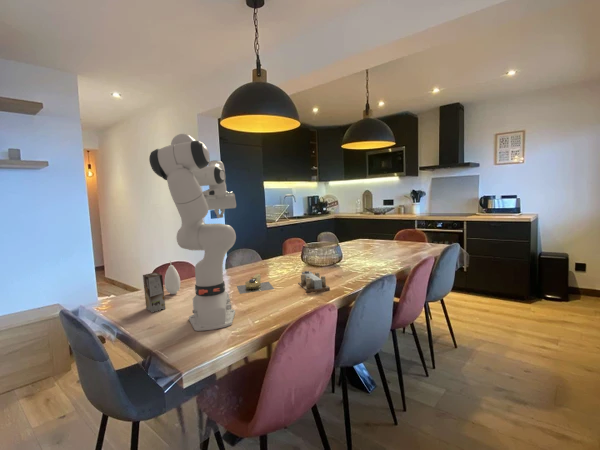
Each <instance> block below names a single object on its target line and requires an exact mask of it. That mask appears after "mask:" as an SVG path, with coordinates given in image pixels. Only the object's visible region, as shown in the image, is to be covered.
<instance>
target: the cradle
mask: <svg viewBox="0 0 600 450" xmlns="http://www.w3.org/2000/svg"><path fill="white" fill-rule="evenodd" d="M314 275H315V276H317V277H318V278H320V279H322V288H321V289H313V288H312V287H311V278H305V274H302V273H301V274H300V282H297V284H298V285H299V286H300V287H301V288H302V289H304V290H305V293H306V294H313V293H320V292H327V291H330V290H331V289H330V286H329V285H327V283H326V282H327V281H326V280H327V279H326V275H321V276H320V272H314Z"/></svg>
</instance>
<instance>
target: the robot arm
mask: <svg viewBox="0 0 600 450" xmlns="http://www.w3.org/2000/svg"><path fill="white" fill-rule="evenodd" d="M210 158H211V157H210V152H209V149H208V147H207V145H206V144H205V143H204V142H202V141H200V140H196V139H195V138H194V137H192V136H191V135H189V134H187V133H179V134H176V135H175V136H174V137H173V138H172V139H171V143H170V145H167V146H164V147H161V148H160V147H158V148H156V149H154V150H152V151H151V152H150V154H149V159H148V161H149V164H150V165H149V166H150V167H151V170H152V171H153V172H154V173H155V174H156V175H157V176H158V177H160V178H162V179H163V180H164V181H166V182H167V187H168V190H169V193H170V196H171V198H172V202H173V203H174V205H175V207H176V210H177V211H178V214H179V216H180V217H179V218H180V220H181V221H180V222H181V226H180V228H179V229H178V230H177V232H176V242H177V245H178V246H179V247H180V248H181V249H185V250H187V251H188V250H189V251H204V255H203V258H202V259H201V260H199V261H198V262H197V263H196V264H195V267H194V275H195V284H194V290H195V292H194V293H195V296H194V297H193V298H192V315H190V316H188V320H189V322H190V324H191V326H192V328H193V330H194V331H196V332H197V331H199V332H200V331H201V332H203V331H212V330H217V329H222V328H226V327H229V326H231V325H232V324H233V323H234V322H233V321H234V318H235V315H236V309H235V308H234V309H232V303H231V298H230V294H229V292H227V291H226V284H225V283H226V282H225V281H224V271H223V270H224V267H223V265H224V260H225V257H226V254H227V253H228V252H229V250H230V249H231V248H233V246H234V245H235V243H236V241H237V240H236V239H237V235H236V231H235V229H234V228H233V227H232V226H231V225H229V224H225V223H205V222H204V218H205V217H206V216H207V215H208V213H209V211H214V213H215V215H216V218H217V219H222V218H224V214H225V212H226V209H227V210H228V209H236V208H237V201H236V195H235V193H234V192H233V191H227V184H226V178H227V177H226V170H225V164H224V163H223V162H222V161H221V160H217V159H216V160H210ZM204 186H206V187H207V186H208V189H205V190H202V187H204Z"/></svg>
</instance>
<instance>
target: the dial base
mask: <svg viewBox="0 0 600 450" xmlns="http://www.w3.org/2000/svg"><path fill="white" fill-rule="evenodd" d="M260 284H261V287H260V288H257V289H246V287H245V284H240V285H236V287H237V288H236V289H237V291H238V293H239V294H240V295H241V294H249V293H256V292H263V291H270V290H275V288H274V286H273V285H272V284H271V283H270V281H266V282H265V281H264V282H260Z"/></svg>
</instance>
